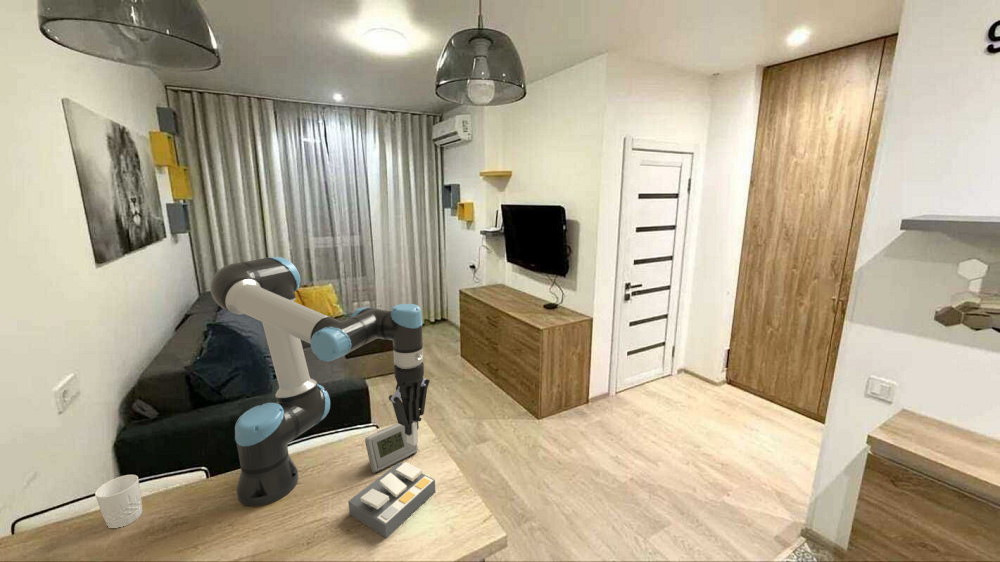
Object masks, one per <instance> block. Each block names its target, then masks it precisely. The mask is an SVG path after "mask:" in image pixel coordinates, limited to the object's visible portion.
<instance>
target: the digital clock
mask: <svg viewBox="0 0 1000 562" xmlns="http://www.w3.org/2000/svg"><path fill="white" fill-rule="evenodd" d="M364 442H365V446H366V448H365V449H366V450H367V455H368V461H369V465H370V469H371V472H372V473H373V474H375V473H378V472H379V471H382V470H385V469H387V468H389V467H391V466H394V465H396V464H398V463H399V462H401V461H403V460H405V459H407V458H409V457H410V456H411V455H413V454H415V453H417V452H418V451H419V445H418V443H417V444H416V445H415V446H413V445H411V444H409V443H407V435H406V434H405V426H403V425H401V424H399V423H398V422H397V423H394V424H392V425H390V426H387V427H385V428H383V429H381V430H379V431H376V432H375V433H373V434H371V435H370V434H369V435H368V436H366V437H365V438H364Z"/></svg>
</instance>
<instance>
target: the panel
mask: <svg viewBox="0 0 1000 562" xmlns="http://www.w3.org/2000/svg"><path fill="white" fill-rule="evenodd" d="M402 464H403V462H401V461H399V462H397V463H395V464H394V465H393V466H392V467H391V468H390V469H388V471H386V472H385V473H383V474H382V475H380V476H379V477H378V478H376V479H375V480H374V481H372V482H371V483H370V484H369V485H367V486H366V487H365V488H363V489H362V490H361V491H360V492H358V493H357V494H355V495H354V496H353V497H352V498H350V499H349V500H348V501H347V502H348V511H349V515H350V516H351V517H353V518H355V519H356V520H357V521H359V522H361V523H362V524H364V525H365V526H366V527H368V528H370V529H371V530H373V531H374V532H375V533H377V534H378V535H380V536H382V537H383V538H385V539H388V538H389V537H390V536H391V535H392V534H393V533H394V532H395V531H397V529H398V528H399V527H400V526H401V525H403V524H404V522H406V521H407V520H408V518H410V517H411V516H412V515H413V514H414V513H415V512H416V511H417V510H418V509H419V508H420V507H421V506H422V505H424V504H425V503H426V502H427V501H428V499H430V498H431V497H432V496H433V495H434V494H435V493H436V479H434V478H432V477H429V476H428V475H426V474H424V473H422V474H421V475H419V476H418V477H417V478H416V479H415V480H413V481H411V480H409V479H407V478H405V479H404V478H403V476H401V475H400V474H398V473H396V469H397V468H398V467H400V466H401V465H402ZM390 472H391V473H392V474H393V475H394V476H396V477H397V478H398V479H399V480H400V481H402V482H403V483H404V484H405V485H406V486H407V489H405V490H404V491H403V492H402V493H401V494H400V495H398V496H397V497H395V496H393V495H392V494H391V493H390V492H387V491H386V489H385V488H384V487H383V486H382V485H381V484H379V483H380V480H381V479H383V478H384V477H385V476H386V475H388V474H389V473H390ZM371 489H374V490H377V491H379V492H381V493H383V494H385V495H387V496H389V500H388V501H387V502H386V503H385V504H384V505H382V506H381V507H380V508H379V509H376V508H374V507H372V506H371V507H369V506H368V504H366V503H364V502H362V501H361V497H362V496H363V495H365V494H366V493H367V492H369V491H370V490H371Z"/></svg>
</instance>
